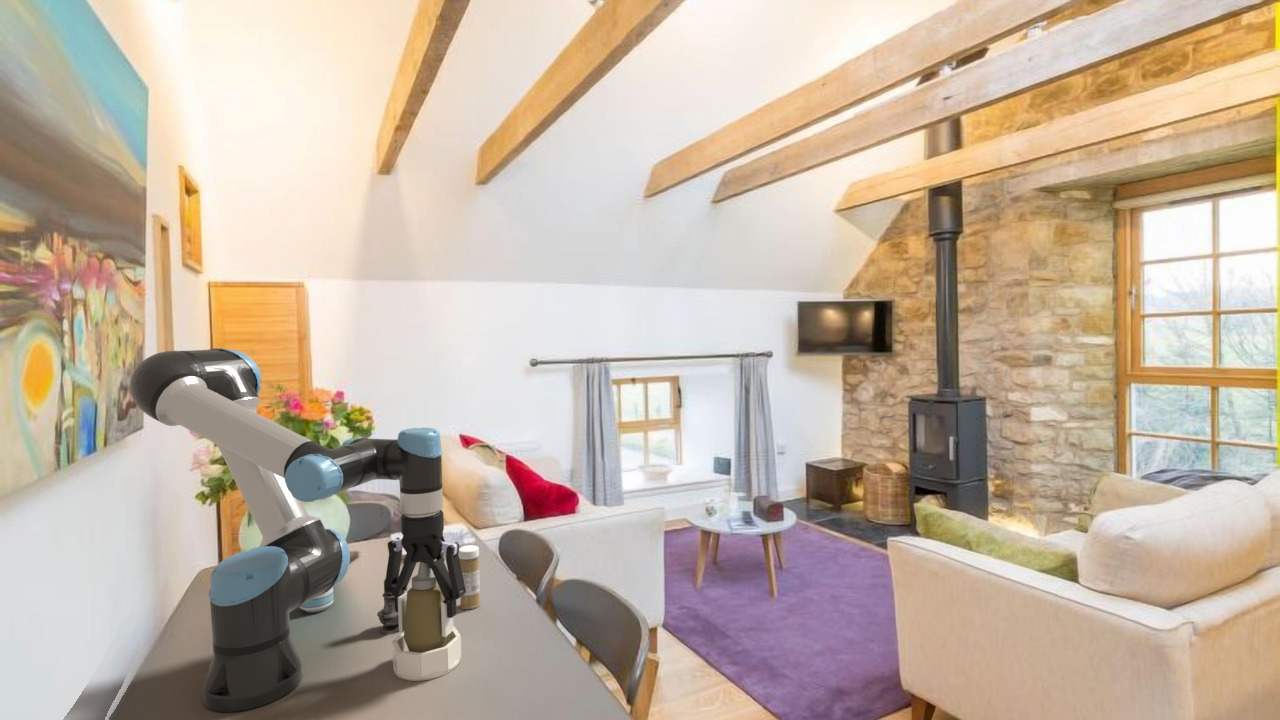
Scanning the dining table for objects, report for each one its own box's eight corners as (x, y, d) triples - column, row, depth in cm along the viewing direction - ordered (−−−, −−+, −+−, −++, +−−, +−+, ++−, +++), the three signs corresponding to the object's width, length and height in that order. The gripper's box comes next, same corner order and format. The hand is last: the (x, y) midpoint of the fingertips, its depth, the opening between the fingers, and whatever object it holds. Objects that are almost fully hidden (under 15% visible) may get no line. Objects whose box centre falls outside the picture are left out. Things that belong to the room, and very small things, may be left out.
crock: (400, 688, 114) (399, 661, 113) (388, 658, 124) (387, 634, 124) (468, 668, 120) (467, 643, 119) (451, 642, 130) (450, 618, 130)
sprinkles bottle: (475, 600, 150) (473, 543, 150) (484, 606, 147) (482, 548, 146) (456, 605, 147) (454, 547, 147) (464, 612, 144) (463, 552, 143)
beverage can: (331, 599, 152) (329, 549, 151) (335, 609, 146) (333, 557, 146) (298, 606, 148) (296, 555, 148) (301, 617, 143) (299, 564, 142)
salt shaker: (397, 635, 133) (395, 578, 133) (371, 633, 134) (369, 576, 134) (413, 623, 139) (411, 568, 138) (388, 621, 140) (386, 566, 140)
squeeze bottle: (395, 653, 121) (392, 559, 120) (433, 637, 127) (430, 547, 127) (419, 667, 116) (416, 568, 115) (458, 649, 122) (455, 556, 121)
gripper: (483, 509, 121) (486, 627, 122) (385, 503, 127) (389, 616, 128) (463, 521, 114) (466, 646, 115) (359, 514, 119) (364, 634, 121)
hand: (426, 630), depth 121 cm, fingers open, 8 cm apart
